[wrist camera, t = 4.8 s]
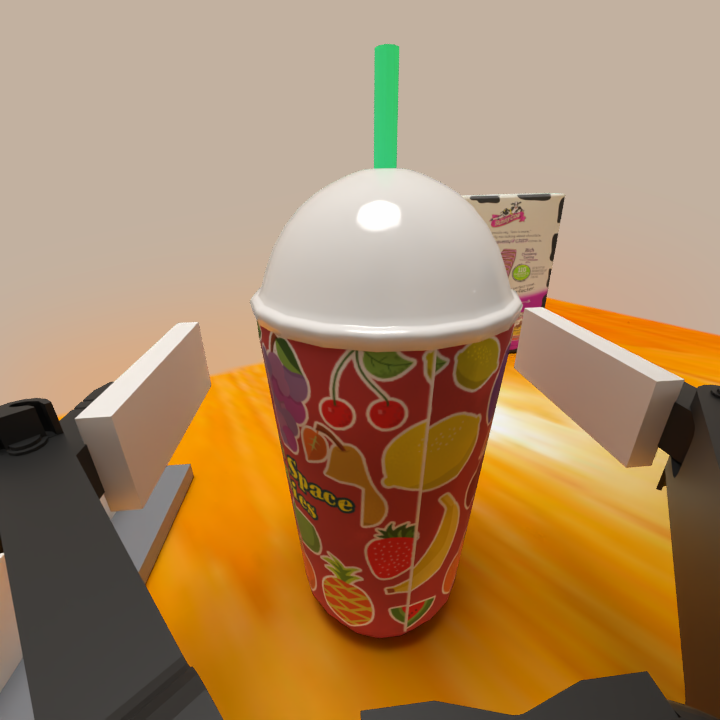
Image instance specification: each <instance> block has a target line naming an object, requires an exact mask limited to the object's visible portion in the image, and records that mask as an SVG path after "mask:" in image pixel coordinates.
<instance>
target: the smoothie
mask: <svg viewBox="0 0 720 720" xmlns="http://www.w3.org/2000/svg"><path fill="white" fill-rule="evenodd" d="M398 75H399V46H396V45H392V44H384V45H379V46H377V47H376V48H375V93H374V94H375V97H374V100H375V101H374V108H375V109H374V169H364V170H360V171H357V172H355V173H352V174H349V175H347V176H345V177H343V178H341V179H339V180H337V181H335V182H333V183H331V184H329V185H327V186H326V187H324V188H323V189H321V190H320V191H318V192H316V193H315V194H314V195H313V196H311V197H310V198H309V199H308V200H307V201H306V202H305V203H304V204H303V205H301V206H300V207H299V208H298V210H297V211H296V212H295V213H294V215H293V216H292V217H291V219H290V220H289V221H288V223H287V224H286V225H285V226H284V228H283V230H282V232H281V234H280V236H279V237H278V239H277V241H276V243H275V245H274V247H273V249H272V252H271V255H270V259H269V262H268V265H267V268H266V271H265V275H264V279H263V283H262V287H261V288H259V289H258V291H257V292H256V293H255V295H254V296H253V297H252V298H251V300H250V304H251V307H252V310H253V313H254V315H255V317H256V319H257V325H258V332H259V338H260V343H261V348H262V353H263V358H264V363H265V368H266V373H267V378H268V383H269V388H270V393H271V398H272V404H273V409H274V414H275V419H276V424H277V429H278V434H279V439H280V444H281V449H282V454H283V459H284V464H285V469H286V474H287V479H288V484H289V489H290V494H291V499H292V504H293V509H294V514H295V519H296V524H297V529H298V534H299V539H300V544H301V549H302V554H303V559H304V564H305V569H306V574H307V577H308V580H309V584H310V587H311V590H312V593H313V595H314V596H315V597H316V599H317V600H318V601H319V603H320V604H321V605H322V606H323V608H324V609H325V610H326V611H327V613H328V614H329V615H331V616H333V617H334V618H336V619H337V620H338V621H339V622H340V623H342V624H343V625H345V626H347V627H348V628H350V629H351V630H353V631H354V632H356V633H358V634H363V635H367V636H371V637H376V638H385V637H394V636H401V635H403V634H405V633H407V632H409V631H411V630H413V629H415V628H417V627H419V626H420V625H421V624H422V623H424V622H426V621H428V620H430V619H431V618H432V617H433V616H434V615H435V614H436V613H437V612H438V611H439V609H440V608H441V607H442V606H443V605H444V604H445V603H446V602H447V600H448V597H449V594H450V592H451V589H452V586H453V583H454V581H455V576H456V572H457V568H458V563H459V559H460V555H461V551H462V547H463V542H464V538H465V534H466V530H467V526H468V521H469V517H470V513H471V509H472V505H473V500H474V496H475V492H476V488H477V484H478V479H479V475H480V471H481V467H482V463H483V458H484V454H485V450H486V446H487V441H488V437H489V433H490V429H491V425H492V420H493V416H494V412H495V408H496V404H497V399H498V395H499V391H500V387H501V383H502V378H503V374H504V370H505V366H506V362H507V357H508V353H509V349H510V345H511V341H512V336H513V330H514V324H515V321H516V320H517V319H518V318H519V316H520V313H521V310H522V307H523V304H522V302H521V300H520V298H519V296H518V294H517V293H516V291H515V290H513V289H511V288H510V284H509V280H508V276H507V272H506V268H505V265H504V262H503V259H502V255H501V252H500V249H499V247H498V245H497V243H496V241H495V239H494V237H493V235H492V233H491V231H490V230H489V228H488V226H487V224H486V223H485V221H484V220H483V219H482V218H481V216H480V215H479V214H478V212H477V211H476V210H475V209H474V207H473V206H472V205H471V204H470V203H469V202H468V201H467V200H465V199H464V198H463V197H462V196H461V195H460V194H458V193H457V192H456V191H454V190H453V189H451V188H450V187H448V186H446V185H445V184H443V183H441V182H439V181H437V180H435V179H433V178H431V177H428V176H426V175H424V174H421V173H419V172H416V171H413V170H410V169H403V168H402V169H401V168H396V161H397V120H398Z"/></svg>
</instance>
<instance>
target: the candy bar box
mask: <svg viewBox="0 0 720 720" xmlns="http://www.w3.org/2000/svg"><path fill="white" fill-rule="evenodd" d="M462 197H463V198H464V199H465V200H467V201H468V202H469V203H470V204H471V205H472V206H473V207H474V209H475V210H476V211H477V212H478V214H479V215H480V216H481V218H482V219H483V220H484V221H485V223H486V224H487V226H488V228H489V230H490V231H491V233H492V235H493V237H494V239H495V241H496V243H497V245H498V247H499V249H500V252H501V255H502V259H503V262H504V265H505V268H506V272H507V276H508V280H509V284H510V288H511V289H513V290H515V291H516V293H517V294H518V296H519V298H520V300H521V302H522V304H523V307H522V310H521V313H520V316H519V318H518V319H517V320H516V321H515V324H514V330H513V336H512V341H511V345H510V349H509V353H511V352H517V349H518V343H519V337H520V331H521V326H522V320H523V314H524V309H525V308H535V307H543V308H545V303H546V297H547V292H548V286H549V280H550V275H551V270H552V265H553V259H554V254H555V248H556V242H557V236H558V231H559V226H560V219H561V215H562V209H563V203H564V197H565V194H559V193H540V194H539V193H535V194H500V195H499V194H496V195H471V196H462Z"/></svg>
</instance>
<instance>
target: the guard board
mask: <svg viewBox="0 0 720 720" xmlns="http://www.w3.org/2000/svg"><path fill="white" fill-rule="evenodd" d="M193 477H194V476H193V472H192V468H191V464H185V465H171V466H166V468H165V470H164V471H163V473H162V475H161V477H160V479H159V480H158V482H157V484H156V486H155V488H154V490H153V491H152V493H151V495H150V497H149V499H148V500H147V502H146V504H145V506H144V508H143V509H137V510H126V511H114V512H111V511H110V509H109V506H108V503H107V501H106V498H105V496H104V494H103V496H102V497H101V498H100V501H101V503H102V505H103V507H104V509H105V511H106V513H107V515H108V516H109V518H110V520H111V522H112V524H113V526H114V528H115V530H116V531H117V533H118V535H119V537H120V539H121V541H122V543H123V545H124V546H125V548H126V550H127V552H128V554H129V556H130V558H131V559H132V561H133V563H134V565H135V567H136V569H137V571H138V573H139V574H140V576H141V578H142V580H143V582H144V584H146V581H147V579H148V577H149V575H150V572H151V570H152V568H153V566H154V564H155V561H156V559H157V557H158V555H159V552H160V550H161V548H162V546H163V543H164V541H165V539H166V537H167V535H168V532H169V530H170V528H171V526H172V523H173V521H174V519H175V517H176V514H177V512H178V510H179V508H180V506H181V503H182V501H183V499H184V497H185V494H186V492H187V490H188V488H189V485H190V483H191V481H192V479H193ZM0 720H34V714H33V709H32V703H31V698H30V693H29V687H28V682H27V676H26V671H25V665H24V660H23V655H22V649H21V644H20V638H19V633H18V627H17V622H16V617H15V611H14V606H13V600H12V595H11V589H10V584H9V578H8V573H7V568H6V562H5V557H4V553H1V554H0Z"/></svg>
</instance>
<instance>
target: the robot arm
mask: <svg viewBox="0 0 720 720" xmlns="http://www.w3.org/2000/svg"><path fill="white" fill-rule="evenodd" d="M514 368H515V369H516V370H517V371H518V372H519V373H521V374H522V375H523V376H524V377H525V378H526V379H527V380H528V381H529V382H531V383H532V384H533V385H534V386H535V387H536V388H537V389H538V390H540V391H541V392H542V393H543V394H544V395H545V396H546V397H547V398H549V399H550V400H551V401H552V402H553V403H554V404H555V405H556V406H558V407H559V408H560V409H561V410H562V411H563V412H564V413H565V414H567V415H568V416H569V417H570V418H571V419H572V420H573V421H574V422H576V423H577V424H578V425H579V426H580V427H581V428H582V429H583V430H585V431H586V432H587V433H588V434H589V435H590V436H591V437H592V438H594V439H595V440H596V441H597V442H598V443H599V444H600V445H601V446H602V447H604V448H605V449H606V450H607V451H608V452H609V453H610V454H611V455H613V456H614V457H615V458H616V459H617V460H618V461H619V462H620V463H622V464H623V465H624V466H625V467H626V468H628V467H640V466H651V465H652V462H653V460H654V457H655V454H656V452H657V449H658V447H659V448H661V449H662V450H663V451H665V452H666V453H667V454H669V455H670V456H669V459H668V461H667V464H666V466H665V469H664V471H663V474H662V476H661V478H660V481H659V483H658V486H657V488H656V489H658V490H662V488H663V486H667V496H668V507H669V518H670V529H671V540H672V551H673V562H674V573H675V583H676V594H677V605H678V616H679V627H680V638H681V649H682V660H683V671H684V682H685V697H686V702H685V705H684V704H681V703H677V702H674V701H671V700H667V699H666V698H665V697H664V695H663V694H662V692H661V691H660V689H659V688H658V686H657V685H656V683H655V682H654V681H653V679H652V678H651V676H650V675H649V673H648V672H647V671H646V672H638V673H631V674H624V675H617V676H610V677H602V678H595V679H588V680H581V681H579V682H577V683H576V684H574V685H572V686H570V687H569V688H567V689H565V690H564V691H562V692H560V693H558V694H557V695H555V696H553V697H552V698H550V699H548V700H546V701H545V702H543V703H541V704H540V705H538V706H536V707H534V708H533V709H531V710H529V711H528V712H526V713H524V714H521V715H508V714H503V713H497V712H492V711H487V710H481V709H476V708H471V707H465V706H460V705H455V704H449V703H444V702H439V701H429V702H422V703H415V704H407V705H400V706H393V707H386V708H379V709H371V710H364V711H361V720H720V386H717V385H702V386H699V387H698V388H695V387H693V386H691V385H690V384H688V383H686V382H684V379H682V378H680V377H678V376H676V375H674V374H672V373H670V372H669V371H667V370H665V369H663V368H661V367H659V366H657V365H655V364H653V363H651V362H649V361H647V360H645V359H643V358H641V357H639V356H637V355H635V354H633V353H631V352H629V351H627V350H625V349H623V348H621V347H619V346H617V345H615V344H613V343H612V342H610V341H608V340H606V339H604V338H602V337H600V336H598V335H596V334H594V333H592V332H590V331H588V330H586V329H584V328H582V327H580V326H578V325H576V324H574V323H572V322H570V321H568V320H566V319H564V318H562V317H560V316H558V315H556V314H555V313H553V312H551V311H549V310H547V309H545V308H543V307H535V308H525V309H524V314H523V320H522V326H521V331H520V337H519V343H518V349H517V354H516V360H515V366H514ZM210 387H211V382H210V377H209V372H208V367H207V363H206V358H205V352H204V348H203V342H202V337H201V333H200V327H199V323H198V322H191V323H177V324H176V325H175V326H174V327H173V328H172V329H171V330H170V331H169V332H168V333H167V334H165V335H164V336H163V337H162V338H161V339H160V340H159V341H158V342H157V343H156V344H155V345H154V346H153V347H151V348H150V349H149V350H148V351H147V352H146V353H145V354H144V355H143V356H142V357H141V358H140V359H139V360H138V361H136V362H135V363H134V364H133V365H132V366H131V367H130V368H129V369H128V370H127V371H126V372H124V373H123V374H122V375H121V376H120V377H119V378H118V379H117V380H116V381H115V382H109V383H107V384H106V385H104V386H102V387H100V388H98V389H96V390H94V391H93V392H92V393H91V394H90V395H89V396H87V397H86V398H85V399H84V400H83V402H80V403H79V404H78V405H77V406H76V407H75V408H74V410H72V411H70V412H69V413H68V414H67V415H66V416H65V417H63V418H62V419H61V420H60V421H59V420H58V417H57V415H56V413H55V410H54V408H53V405H52V403H51V402H50V401H49V400H47V399H41V398H33V399H24V400H19V401H15V402H10V403H7V404H4V405H1V406H0V554H1V553H4V557H5V562H6V568H7V573H8V578H9V584H10V589H11V595H12V600H13V606H14V611H15V617H16V622H17V627H18V633H19V638H20V644H21V649H22V655H23V660H24V665H25V671H26V676H27V682H28V687H29V693H30V698H31V703H32V709H33V714H34V720H223V718H222V717H221V715H220V713H219V711H218V709H217V707H216V706H215V704H214V702H213V700H212V698H211V696H210V695H209V693H208V691H207V689H206V687H205V686H204V684H203V682H202V680H201V679H200V677H199V675H198V674H197V672H196V671H195V669H194V668H193V667H190V666H189V665H188V664H187V662H186V660H185V658H184V657H183V655H182V653H181V651H180V649H179V647H178V646H177V644H176V642H175V640H174V638H173V636H172V634H171V632H170V631H169V629H168V627H167V625H166V623H165V621H164V619H163V617H162V616H161V614H160V612H159V610H158V608H157V606H156V604H155V603H154V601H153V599H152V597H151V595H150V593H149V591H148V589H147V588H146V586H145V584H144V582H143V580H142V578H141V576H140V574H139V573H138V571H137V569H136V567H135V565H134V563H133V561H132V559H131V558H130V556H129V554H128V552H127V550H126V548H125V546H124V545H123V543H122V541H121V539H120V537H119V535H118V533H117V531H116V530H115V528H114V526H113V524H112V522H111V520H110V518H109V516H108V515H107V513H106V511H105V509H104V507H103V505H102V503H101V501H100V498H101V497H102V496H103V494H104V496H105V498H106V501H107V503H108V506H109V509H110V511H111V512H114V511H126V510H137V509H143V508H144V506H145V504H146V502H147V500H148V499H149V497H150V495H151V493H152V491H153V490H154V488H155V486H156V484H157V482H158V480H159V479H160V477H161V475H162V473H163V471H164V470H165V468H166V466H167V464H168V462H169V461H170V459H171V457H172V455H173V453H174V452H175V450H176V448H177V446H178V444H179V443H180V441H181V439H182V437H183V435H184V434H185V432H186V430H187V428H188V426H189V425H190V423H191V421H192V419H193V417H194V416H195V414H196V412H197V410H198V408H199V407H200V405H201V403H202V401H203V399H204V398H205V396H206V394H207V392H208V390H209V389H210Z"/></svg>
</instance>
